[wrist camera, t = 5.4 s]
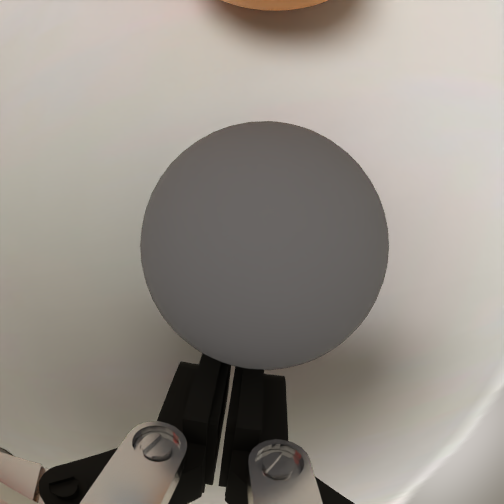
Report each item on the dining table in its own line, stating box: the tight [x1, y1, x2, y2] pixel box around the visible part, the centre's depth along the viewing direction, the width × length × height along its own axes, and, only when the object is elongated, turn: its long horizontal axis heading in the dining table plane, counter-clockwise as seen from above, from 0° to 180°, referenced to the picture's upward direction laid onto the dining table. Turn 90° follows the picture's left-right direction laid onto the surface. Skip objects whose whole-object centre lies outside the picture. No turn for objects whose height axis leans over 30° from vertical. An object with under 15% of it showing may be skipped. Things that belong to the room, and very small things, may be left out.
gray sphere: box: [140, 121, 389, 370], centre depth 7 cm, size 6×6×6 cm
